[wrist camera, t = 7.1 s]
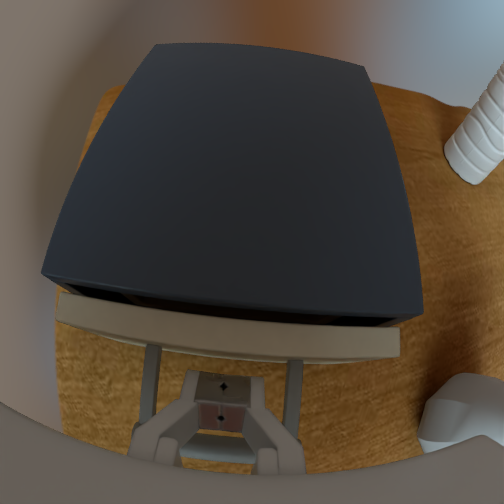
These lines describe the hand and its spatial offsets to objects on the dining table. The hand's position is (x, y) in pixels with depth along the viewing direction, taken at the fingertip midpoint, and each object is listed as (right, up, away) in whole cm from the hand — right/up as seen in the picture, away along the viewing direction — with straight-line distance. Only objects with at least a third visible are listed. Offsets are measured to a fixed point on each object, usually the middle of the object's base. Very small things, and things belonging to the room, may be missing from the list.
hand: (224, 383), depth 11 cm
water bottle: (+27, +15, +16) cm, 35 cm away
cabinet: (0, +8, +10) cm, 13 cm away
